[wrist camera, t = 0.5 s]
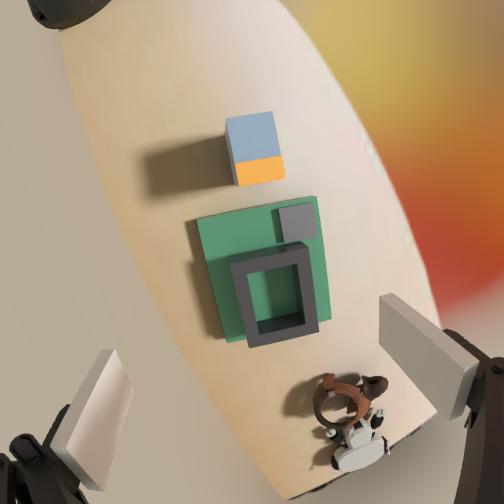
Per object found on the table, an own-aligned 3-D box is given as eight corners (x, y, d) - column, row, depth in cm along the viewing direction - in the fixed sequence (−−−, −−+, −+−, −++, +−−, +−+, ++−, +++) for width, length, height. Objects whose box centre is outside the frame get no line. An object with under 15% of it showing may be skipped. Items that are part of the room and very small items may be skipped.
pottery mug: (336, 416, 46) (328, 443, 38) (308, 377, 48) (296, 399, 40) (396, 385, 42) (398, 410, 34) (369, 342, 44) (367, 361, 36)
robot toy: (317, 422, 46) (328, 466, 49) (324, 438, 42) (334, 480, 45) (380, 397, 47) (382, 444, 49) (391, 411, 42) (391, 457, 45)
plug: (224, 135, 33) (226, 118, 23) (258, 129, 33) (272, 110, 24) (234, 184, 35) (239, 186, 25) (268, 178, 35) (285, 178, 25)
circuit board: (197, 218, 35) (193, 225, 30) (312, 195, 36) (326, 198, 31) (226, 337, 39) (227, 357, 34) (327, 314, 40) (340, 331, 35)
